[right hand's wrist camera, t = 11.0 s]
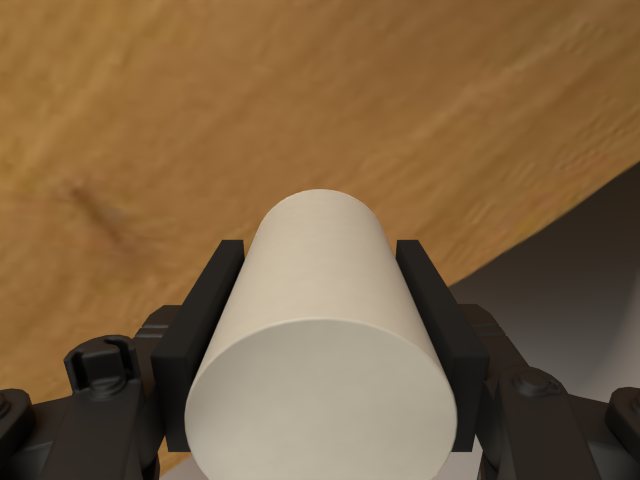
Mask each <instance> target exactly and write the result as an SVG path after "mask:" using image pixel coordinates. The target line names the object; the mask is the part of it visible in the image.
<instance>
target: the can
mask: <svg viewBox="0 0 640 480" xmlns="http://www.w3.org/2000/svg"><path fill="white" fill-rule="evenodd" d="M457 422H458V420H457V406H456V402H455V398H454V394H453V391H452V389H451V387H450V384H449V382H448V380H447V377H446V375H445V373H444V370H443V368H442V366H441V363H440V361H439V359H438V356H437V354H436V352H435V349H434V347H433V345H432V342H431V340H430V338H429V335H428V333H427V331H426V328H425V326H424V324H423V321H422V319H421V317H420V314H419V312H418V310H417V307H416V305H415V303H414V301H413V298H412V296H411V294H410V291H409V289H408V287H407V284H406V282H405V280H404V277H403V275H402V273H401V270H400V268H399V266H398V263H397V261H396V259H395V256H394V254H393V252H392V249H391V247H390V245H389V242H388V240H387V238H386V235H385V233H384V231H383V228H382V226H381V224H380V222H379V221H378V219H377V217H376V216H375V215H374V214H373V212H372V211H371V210H370V209H369V208H368V207H367V206H366V205H365V204H363V203H362V202H360V201H359V200H357V199H356V198H354V197H352V196H350V195H347V194H344V193H342V192H338V191H333V190H325V189H317V190H308V191H303V192H300V193H296V194H294V195H292V196H289V197H287V198H286V199H284V200H282V201H281V202H279V203H278V204H277V205H276V206H274V207H273V208H272V209H271V210H270V211H269V212H268V213H267V215H266V216H265V218H264V219H263V220H262V222H261V224H260V226H259V228H258V230H257V233H256V235H255V238H254V240H253V242H252V245H251V247H250V249H249V252H248V254H247V256H246V259H245V261H244V264H243V266H242V268H241V271H240V273H239V275H238V278H237V280H236V282H235V285H234V287H233V290H232V292H231V294H230V297H229V299H228V301H227V304H226V306H225V308H224V311H223V313H222V316H221V318H220V320H219V323H218V325H217V327H216V330H215V332H214V334H213V337H212V339H211V341H210V344H209V346H208V349H207V351H206V353H205V356H204V358H203V360H202V363H201V365H200V367H199V370H198V372H197V375H196V377H195V379H194V382H193V384H192V386H191V389H190V392H189V395H188V398H187V401H186V408H185V432H186V436H187V441H188V445H189V447H190V450H191V452H192V455H193V457H194V459H195V460H196V462H197V464H198V466H199V467H200V469H201V470H202V471H203V473H204V474H205V475H206V476H207V478H208V479H209V480H433V478H434V477H435V476H436V475H437V474H438V473H439V471H440V470H441V468H442V467H443V466H444V464H445V463H446V461H447V459H448V457H449V455H450V453H451V451H452V448H453V444H454V441H455V438H456V431H457Z"/></svg>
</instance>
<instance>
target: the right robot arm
mask: <svg viewBox="0 0 640 480" xmlns="http://www.w3.org/2000/svg"><path fill="white" fill-rule="evenodd" d="M244 261H245V257H244V244H243V240H222V241H221V243H220V244H219V246H218V248H217V249H216V251H215V252H214V254H213V256H212V257H211V259H210V261H209V262H208V264H207V265H206V267H205V269H204V270H203V272H202V273H201V275H200V277H199V278H198V280H197V281H196V283H195V285H194V286H193V288H192V290H191V291H190V293H189V294H188V296H187V298H186V299H185V301H184V302H183V304H182V305H164V306H162V307H161V308H159V309H158V310H156V311H155V312H153V313H152V314H150V315H149V317H148V318H147V320H146V321H145V322H144V324H143V325H142V328H140V329H139V330H138V332H137V333H136V335H135V338H133V339H131V338H129V337H127V336H123V335H106V336H101V337H97V338H93V339H91V340H89V341H86V342H84V343H82V344H80V345H78V346H77V347H76V348H74V349H73V350H71V351H70V352H69V353H68V354H67V356H66V357H65V358H64V359H63V361H64V364H65V367H66V371H67V374H68V377H69V381H70V384H71V388H72V391H73V393H72V396H68V397H65V398H61V399H56V400H52V401H47V402H43V403H38V404H34V405H32V403H31V400H30V397H29V394H27V393H26V392H25V391H23V390H20V389H12V388H11V389H5V390H0V480H159V474H160V463H159V457H158V453H157V452H158V450H159V447H160V445H161V443H162V440H163V438H164V436H165V437H166V442H167V447H168V452H191V450H190V447H189V445H188V441H187V436H186V432H185V408H186V401H187V398H188V395H189V392H190V389H191V386H192V384H193V382H194V379H195V377H196V375H197V372H198V370H199V367H200V365H201V363H202V360H203V358H204V356H205V353H206V351H207V349H208V346H209V344H210V341H211V339H212V337H213V334H214V332H215V330H216V327H217V325H218V323H219V320H220V318H221V316H222V313H223V311H224V308H225V306H226V304H227V301H228V299H229V297H230V294H231V292H232V290H233V287H234V285H235V282H236V280H237V278H238V275H239V273H240V271H241V268H242V266H243V264H244ZM396 261H397V263H398V266H399V268H400V270H401V273H402V275H403V277H404V280H405V282H406V284H407V287H408V289H409V291H410V294H411V296H412V298H413V301H414V303H415V305H416V307H417V310H418V312H419V314H420V317H421V319H422V321H423V324H424V326H425V328H426V331H427V333H428V335H429V338H430V340H431V342H432V345H433V347H434V349H435V352H436V354H437V356H438V359H439V361H440V363H441V366H442V368H443V370H444V373H445V375H446V377H447V380H448V382H449V384H450V387H451V389H452V391H453V394H454V398H455V402H456V406H457V420H458V422H457V431H456V438H455V441H454V444H453V448H452V451H451V452H472V448H473V443H474V438H475V433H476V436H477V438H478V440H479V442H480V445H481V447H482V449H483V453H482V457H481V462H480V467H479V472H478V477H477V480H640V388H633V387H624V388H618V389H617V390H615V391H614V392H613V393H612V395H611V398H610V401H609V403H605V402H601V401H596V400H591V399H587V398H582V397H578V396H574V395H571V394H568V393H567V391H566V389H565V388H564V387H563V385H562V384H561V382H559V381H558V380H557V379H555V378H554V377H553V376H552V375H550V374H548V373H546V372H544V371H542V370H540V369H537V368H534V367H530V366H529V365H528V364H527V362H526V361H525V360H524V358H523V357H522V356H521V354H520V353H519V352H518V350H517V349H516V347H515V346H514V345H513V343H512V342H511V341H510V339H509V338H508V337H507V336H506V335H505V333H504V331H503V330H502V328H501V327H499V324H498V323H497V322H496V320H495V319H494V318H493V316H492V315H491V314H490V313H489V312H487V311H486V310H484V309H483V308H482V307H480V306H479V305H477V304H457V302H456V300H455V299H454V297H453V296H452V294H451V292H450V291H449V289H448V287H447V286H446V284H445V283H444V281H443V279H442V278H441V276H440V275H439V273H438V271H437V270H436V268H435V267H434V265H433V263H432V262H431V260H430V259H429V257H428V255H427V254H426V252H425V250H424V249H423V247H422V246H421V244H420V242H419V241H418V240H397V248H396Z"/></svg>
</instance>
